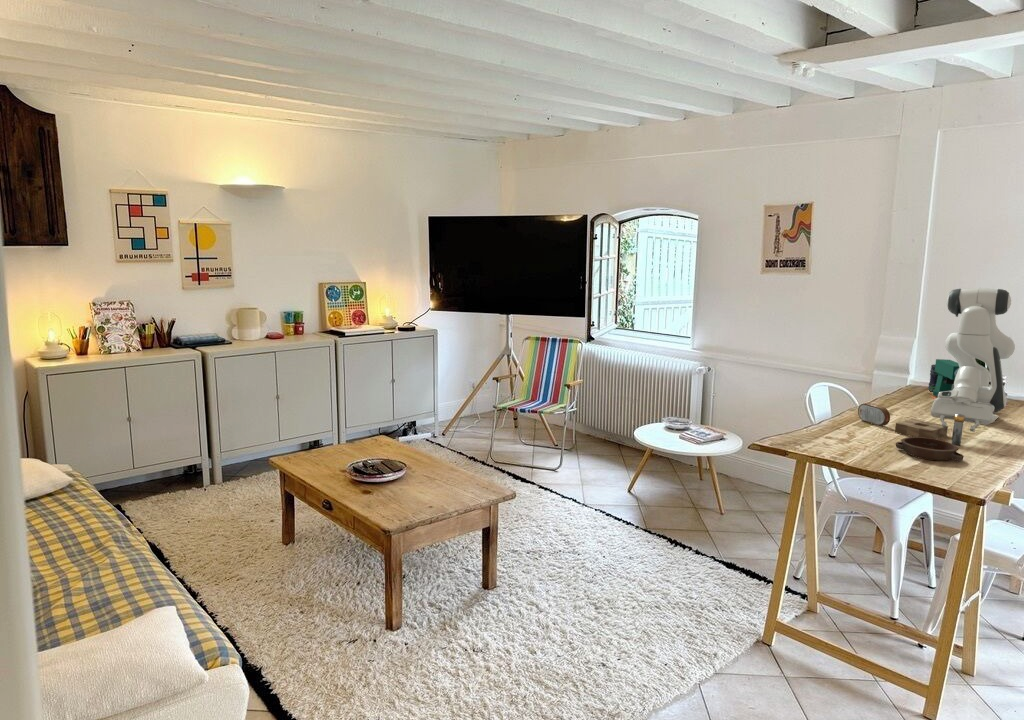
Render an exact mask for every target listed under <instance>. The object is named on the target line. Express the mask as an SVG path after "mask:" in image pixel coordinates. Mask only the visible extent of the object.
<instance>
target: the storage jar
mask: <svg viewBox="0 0 1024 720" xmlns="http://www.w3.org/2000/svg"><path fill="white" fill-rule="evenodd" d="M930 366H931V367H930V373H929V382H928V386H927V388H928V390H929V391H930V392H933V390H935V386H936V382H937V378H938V374H939V373H937V372H935V364H931V365H930ZM928 390H927V391H928Z"/></svg>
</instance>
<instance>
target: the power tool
mask: <svg viewBox="0 0 1024 720" xmlns="http://www.w3.org/2000/svg"><path fill="white" fill-rule="evenodd" d="M934 365H935V372H937V373H939V374H938V378H937V382H936V386H935V390H933V395H932V394H930V397H931V396H933V397H935V398H938V394H939V392H944V391H951V388H952V385H953V384H954V381H955V377H956V374H957V372H958V370H959V364H958V362H957V361H954V360H951V359H944V358H943V359H939V358H937V359H935V363H934Z"/></svg>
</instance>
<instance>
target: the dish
mask: <svg viewBox="0 0 1024 720" xmlns="http://www.w3.org/2000/svg"><path fill="white" fill-rule="evenodd" d="M895 447H896V448H897V449H899V450H903V451H905V452H906V453H907V454H908V455H910V456H912V457H916V458H918V457H919V459H922V458H923V460H929V461H935V460H936V462H937V461H938V462H944V461H945V462H946V461H947V462H948V461H950V460H955V461H960V462H961V461H963V460H964V457H965V456H964V455H963V454H961V453H959V452H958V451H959V450H960V448H959V446H956V445H954V444H952V442H949V441H946V440H941V439H939V438H938V439H933V438H924V437H912V436H909V437H905V438H902V439H900V441H897V442H895Z"/></svg>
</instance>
